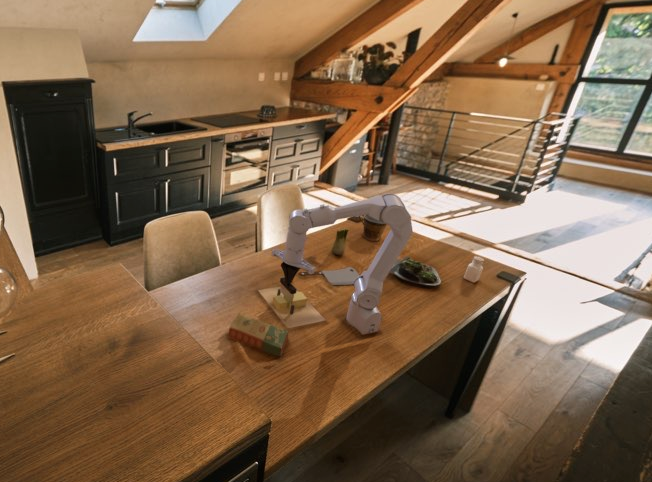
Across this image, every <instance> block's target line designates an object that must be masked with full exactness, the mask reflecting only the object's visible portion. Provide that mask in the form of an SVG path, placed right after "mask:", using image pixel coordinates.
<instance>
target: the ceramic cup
mask: <svg viewBox="0 0 652 482" xmlns="http://www.w3.org/2000/svg"><path fill="white" fill-rule="evenodd" d="M361 217H363V219H362V218H361ZM358 218H359V220H360V222H361V223H362V225H363V233H362V234H363V238H364V239H366V240H367V241H371V242H377V241H379V240H380V239H381V237H382V235H383V233H384V231H385V230H386V228H387V226H388V225H387V224H386V223H385V222H384V221H383V219H382V217H380V218H379V220H376V219H374V218H372V217H370V216H368V215H362V216H358Z"/></svg>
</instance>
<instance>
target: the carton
mask: <svg viewBox="0 0 652 482" xmlns="http://www.w3.org/2000/svg"><path fill="white" fill-rule="evenodd" d="M227 336H228V338H229V339H231V340H234V341H236V342H238V343H240V342H242V343H244V344H247V345H249V346H253V347H255V348H257V349H260V350H263V351H264V352H267V353H270V354H271V355H275V356H277V357H278V358H279V357H280V358H281V357H282V356H283V352H284V349H285V347H286V344H287V342H288V338H289V331H288V330H286V329H284V328H281V327H279V326H275V325H272V324H269V323H266V322H264V321H261V320H259V319H256V318H253V317H251V316H248V315H246V314H243V313H240V312H239V313H237V315H236V316H235V319H233V322H232V323H231V325H230V327H229V328H228V335H227Z"/></svg>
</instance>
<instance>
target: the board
mask: <svg viewBox="0 0 652 482" xmlns="http://www.w3.org/2000/svg"><path fill="white" fill-rule="evenodd" d="M280 289H281V285H280V286H273V287H268V288H262V289H257V292H258V293H259V294H260V295H261V297H262V298H263V299H264V300H265V301H266V303H267V304H268V305H269V306H270V308H271V310H272V311H273V312H274V313H275V314H276V315H277V317H278V318H279V319H280V320H281V322H282V323H283V324H284V325H285V327H286V328H287V329H292V328H298V327H303V326H307V325H310V324H316V323H321V322H326V321H327V320H326V319H325V318H324V317H323V315H321V314H320V312H319V311H318V310H317V309H316V308H315V307H314V306H313V305H312V304H311V303H310V302H309V301H308V300H307V304H306V306H301V307H296V308H294V307H295V305H294V304H291V309H289V308H288V307H287V308H286V310H281V311H278V310H277V309H276V307H275V306H274V305H273V304H272V303H273V296H279V295H282V297H283V298H284V295H283V294H282V293H281V292H280ZM296 292H300V291H299V289H297V291H296Z"/></svg>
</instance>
